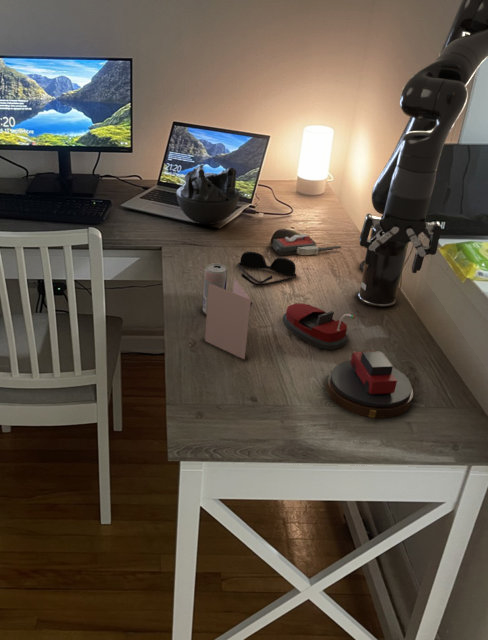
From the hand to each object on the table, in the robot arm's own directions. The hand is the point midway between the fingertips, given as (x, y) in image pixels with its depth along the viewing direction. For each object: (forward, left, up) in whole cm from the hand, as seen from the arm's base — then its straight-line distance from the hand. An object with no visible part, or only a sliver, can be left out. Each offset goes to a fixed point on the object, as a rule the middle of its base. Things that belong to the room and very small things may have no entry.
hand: (391, 268), depth 135 cm
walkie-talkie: (-55, -35, -25) cm, 70 cm away
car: (+8, +2, -23) cm, 24 cm away
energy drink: (-6, -41, -25) cm, 48 cm away
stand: (+8, +2, -25) cm, 26 cm away
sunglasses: (-29, -38, -25) cm, 54 cm away
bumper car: (-9, -15, -25) cm, 30 cm away
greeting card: (+8, -31, -25) cm, 40 cm away
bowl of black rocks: (-59, -70, -25) cm, 95 cm away
